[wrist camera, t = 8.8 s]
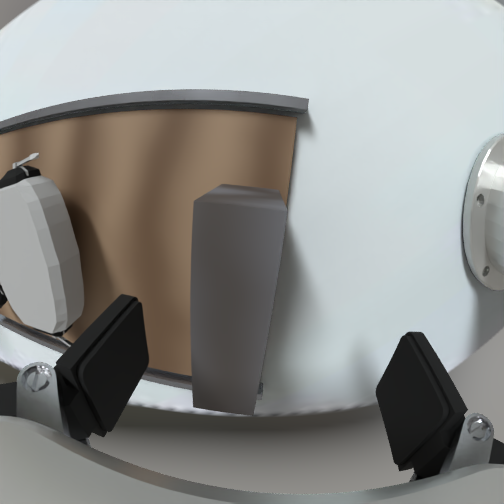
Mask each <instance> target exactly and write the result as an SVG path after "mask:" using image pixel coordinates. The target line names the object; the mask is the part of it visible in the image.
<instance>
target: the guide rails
mask: <svg viewBox="0 0 504 504" xmlns="http://www.w3.org/2000/svg"><path fill="white" fill-rule="evenodd" d="M308 102H309V99H306V98H299V97H293V96H286V95H278V94H269V93H260V92H248V91H233V90H206V89H185V90H158V91H143V92H132V93H123V94H115V95H107V96H100V97H94V98H88V99H83V100H77V101H72V102H68V103H63V104H59V105H54V106H50V107H46V108H43V109H39V110H35V111H32V112H28V113H25V114H22V115H19V116H15V117H12V118H9V119H7V120H4V121H1V122H0V131H3V130H6V129H9V128H13V127H16V126H20V125H23V124H27V123H31V122H35V121H39V120H43V119H48V118H52V117H57V116H62V115H68V114H73V113H79V112H85V111H92V110H100V109H108V108H117V107H128V106H141V105H160V104H213V105H233V106H247V107H258V108H268V109H276V110H284V111H291V112H298V113H305V112H306V111H307V110H308ZM0 325H2V326H4V327H6V328H8V329H10V330H12V331H14V332H16V333H18V334H20V335H22V336H24V337H26V338H28V339H30V340H32V341H34V342H37V343H39V344H41V345H43V346H46V347H48V348H50V349H53V350H55V351H58V352H60V353H63V354H64V353H65V352H66V351H67V349H68V348H69V346H68V345H66V344H65V343H64V342H62V341H61V340H58V339H55V338H53V337H51V336H48V335H46V334H43V333H41V332H38V331H36V330H34V329H31V328H29V327H27V326H25V325H22V324H20V323H18V322H16V321H14V320H12V319H10V318H8V317H5V316H3V315H1V314H0ZM141 379H143V380H147V381H151V382H155V383H160V384H164V385H169V386H173V387H178V388H183V389H189V390H192V376H189V375H183V374H178V373H173V372H168V371H163V370H159V369H154V368H150V367H147V369H146V371H145V372H144V374H143V376H142V378H141ZM262 392H263V384H262V383H259V388H258V393H257V399H262Z"/></svg>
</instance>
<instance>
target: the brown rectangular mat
mask: <svg viewBox="0 0 504 504" xmlns="http://www.w3.org/2000/svg"><path fill="white" fill-rule="evenodd" d="M296 123H297V117H290V116H283V115H275V114H266V113H257V112H245V111H232V110H213V109H154V110H135V111H122V112H112V113H103V114H94V115H87V116H80V117H74V118H68V119H62V120H57V121H52V122H47V123H42V124H38V125H34V126H29V127H25V128H21V129H18V130H14V131H10V132H7V133H4V134H0V180H1V179H2V177H3V176H4V175H5V174H6V173H7V171H9V170H11V169H13V163H15V162H20V161H22V160H24V159H26V158H27V157H29V156H30V155H31V154H34V153H39V158H37V159H33V160H31V161H29V162H27V163H25V164H23V165H22V166H26V165H29V166H32V167H35V168H38V169H39V170H40V173H41V176H44V177H46V178H49V179H51V180H53V181H54V183H55V184H56V186H57V188H58V189H59V191H60V193H61V195H62V197H63V200H64V203H65V206H66V208H67V211H68V214H69V217H70V220H71V224H72V228H73V232H74V235H75V239H76V242H77V245H78V249H79V253H80V262H81V271H82V278H83V287H84V307H83V311H82V315H81V316H80V317H79V318H78V319H77V320H76V321H75V322H73V326H72V327H71V328H70V329H69V330H68V331H67V332H66V333H65V334H64V335H63V337H64V338H66V339H67V340H69V341H70V342H72V343H74V342H75V341H76V340H77V339H78V338H79V336H80V335H81V334H82V333H83V332H84V331H85V330H86V329H87V328H88V327H89V326H90V325H91V324H92V323H93V322H94V321H95V320H96V319H97V318H98V317H99V316H100V315H101V314H102V313H103V312H104V311H105V310H106V309H107V308H108V307H109V306H110V305H111V304H112V303H113V302H114V301H115V300H116V299H117V298H118V297H119V296H120V295H121V294H125V295H130V296H134V297H137V298H138V301H139V302H141V303H142V307H143V316H144V324H145V332H146V339H147V346H148V353H149V364H148V367H150V368H154V369H159V370H163V371H168V372H173V373H178V374H183V375H189V376H192V393H193V407H195V408H200V409H206V410H213V411H220V412H227V413H235V414H244V415H253V414H254V409H255V404H256V399H257V393H258V388H259V383H260V378H261V373H262V367H263V362H264V356H265V351H266V345H267V340H268V334H269V328H270V322H271V317H272V311H273V305H274V299H275V293H276V286H277V280H278V274H279V267H280V261H281V254H282V248H283V241H284V234H285V227H286V220H287V213H288V210H287V208H286V204H287V196H288V189H289V181H290V173H291V165H292V157H293V149H294V140H295V132H296ZM0 314H1V315H3V316H5V317H8V318H10V319H12V320H14V321H16V322H18V323H20V324H22V325H25V326H27V327H29V328H31V329H33V327H31V326H29V325H26V324H24V323H23V322H22V320H21V319H20V318H19V317H18V315H17V314H16V313H15V311H14V310H13V309H12V307H11V305H10V303H9V301H7V302H6V303H5V304H4V305H3V306H2V308H0ZM36 331H37V330H36ZM38 332H40V331H38ZM41 333H43V332H41ZM43 334H46V333H43ZM46 335H48V336H51V337H52V335H49V334H46ZM57 339H58V338H57ZM58 340H59V339H58Z"/></svg>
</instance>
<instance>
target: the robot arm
mask: <svg viewBox="0 0 504 504" xmlns="http://www.w3.org/2000/svg"><path fill="white" fill-rule="evenodd" d="M463 238H464V248H465V253H466V257H467V261H468V264H469V266H470V268H471V271H472V273H473V274H474V276H475V277H476V278H477V280H478V281H480V282H481V283H482V284H483V285H485V286H486V287H487V288H490V289H492V290H495V291H502V290H504V134H500V135H498V136H495V137H493V138H492V139H491V140H490V141H489V142H488V143H486V145H485V146H484V147H483V149H482V150H481V152H480V153H479V155H478V157H477V160H476V162H475V164H474V166H473V169H472V172H471V175H470V179H469V182H468V187H467V192H466V197H465V204H464V214H463ZM56 364H57V365H56V366H55V367H54V368H52V366H50V365H49V364H47V363H43V362H35V363H31V364H29V365H27V366H25V367H24V368H23V369H22V370H21V371H20V373H19V375H18V378H17V382H12V383H6V384H0V504H504V443H502V442H500V441H498V440H496V439H494V438H493V437H494V428H493V425H492V423H491V422H490V420H489V419H488V418H487V417H485V416H484V415H482V414H479V413H473V414H470V415H468V416H467V417H466V418H465V417H464V414H465V413H466V411H467V410H468V409H467V407H466V406H465V403H464V402H463V400H462V398H461V396H460V394H459V392H458V390H457V389H456V387H455V385H454V383H453V381H452V380H451V378H450V376H449V375H448V373H447V371H446V369H445V368H444V366H443V364H442V363H441V361H440V359H439V358H438V356H437V354H436V353H435V351H434V350H433V348H432V346H431V345H430V343H429V342H428V340H427V338H426V337H425V335H424V334H423V333H422V332H407V333H406V334H405V335H404V336H402V338H401V339H400V342H399V344H398V346H397V348H396V350H395V352H394V354H393V356H392V358H391V360H390V362H389V364H388V366H387V368H386V370H385V372H384V374H383V376H382V378H381V380H380V382H379V383H378V385H377V388H376V397H377V400H378V403H379V407H380V410H381V413H382V417H383V421H384V424H385V428H386V432H387V436H388V440H389V443H390V447H391V452H392V455H393V460H394V463H395V464H397V465H398V468H399V471H403V470H408V469H412V468H414V474H413V476H412V477H411V480H410V481H409V482H408V483H404V484H399V485H394V486H389V487H383V488H377V489H370V490H364V491H355V492H345V493H331V494H274V493H260V492H250V491H242V490H234V489H227V488H221V487H215V486H209V485H205V484H200V483H195V482H191V481H187V480H182V479H179V478H175V477H171V476H167V475H163V474H160V473H157V472H154V471H151V470H148V469H145V468H141V467H139V466H136V465H133V464H130V463H128V462H125V461H123V460H120V459H117V458H115V457H112V456H110V455H107V454H105V453H103V452H100V451H98V450H96V449H94V448H91V445H90V441H89V436H90V435H91V433H92V432H93V433H95V434H97V435H99V436H102V437H104V436H105V435H106V433H107V431H108V432H110V431H112V429H113V428H114V426H115V424H116V422H117V421H118V419H119V417H120V415H121V413H122V411H123V410H124V408H125V406H126V404H127V402H128V401H129V399H130V397H131V395H132V393H133V392H134V390H135V388H136V386H137V385H138V383H139V381H140V379H141V378H142V376H143V374H144V372H145V371H146V369H147V367H148V364H149V353H148V346H147V339H146V332H145V324H144V316H143V307H142V303H141V302H139V301H138V298H137V297H134V296H130V295H125V294H121V295H120V296H119V297H118V298H117V299H116V300H115V301H114V302H113V303H112V304H111V305H110V306H109V307H108V308H107V309H106V310H105V311H104V312H103V313H102V314H101V315H100V316H99V317H98V318H97V319H96V320H95V321H94V322H93V323H92V324H91V325H90V326H89V327H88V328H87V329H86V330H85V331H84V332H83V333H82V334H81V335H80V336H79V338H78V339H77V340H76V341H75V342H74V343H73V344H72V345H71V346H70V347H69V348H68V349H67V351H66V352H65V353H64V354H63V355H62V356H61V357H60V358H59V359H58V360H57V362H56Z"/></svg>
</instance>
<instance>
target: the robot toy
mask: <svg viewBox="0 0 504 504" xmlns="http://www.w3.org/2000/svg"><path fill="white" fill-rule="evenodd" d="M37 158H39V153H34V154H31V155H30V156H29V157H27V158H26V159H24V160H22V161H20V162H15V163H13V169H11V170H9V171H7V173H6V174H5V175H4V176H3V177H2V179H1V180H0V308H2V306H3V305H4V304H5V303H6V302H7V301H9V303H10V305H11V307H12V309H13V310H14V311H15V313H16V314H17V315H18V317H19V318H20V319H21V320H22V322H23V323H24V324H26V325H29V326H31V327H33V329H34V330H37V331H40V332H43V333H46V334H49V335H52V337H53V338H55V339H57V338H58V339H59V340H61V341H62V342H64V343H65V344H66V345H68V346H69V347H70V346H71V345H72V344H73V343H72V342H70V341H69V340H67V339H66V338H64V337H63V335H64V334H65V333H66V332H67V331H68V330H69V329H70V328H71V327H72V326H73V322H75V321H76V320H77V319H78V318H79V317H80V316H81V315H82V311H83V307H84V287H83V278H82V271H81V262H80V253H79V249H78V245H77V242H76V239H75V235H74V232H73V228H72V224H71V220H70V217H69V214H68V211H67V208H66V206H65V203H64V200H63V197H62V195H61V193H60V191H59V189H58V188H57V186H56V184H55V183H54V181H53V180H51V179H49V178H46V177H44V176H41V173H40V170H39V169H38V168H35V167H32V166H29V165H26V166H22V165H23V164H25V163H27V162H29V161H31V160H33V159H37Z"/></svg>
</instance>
